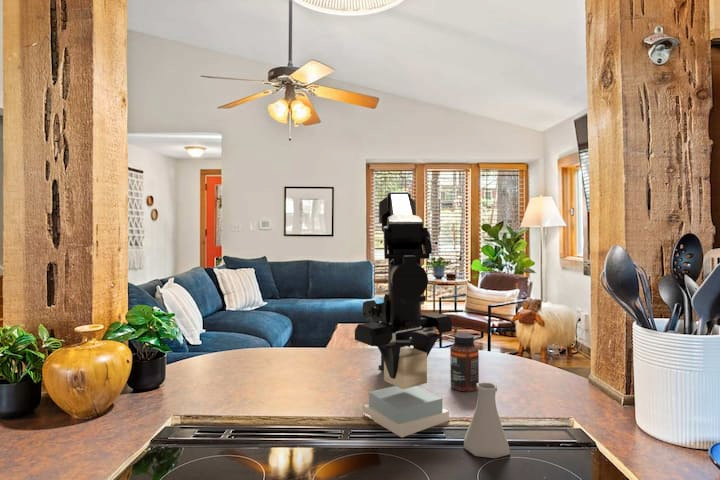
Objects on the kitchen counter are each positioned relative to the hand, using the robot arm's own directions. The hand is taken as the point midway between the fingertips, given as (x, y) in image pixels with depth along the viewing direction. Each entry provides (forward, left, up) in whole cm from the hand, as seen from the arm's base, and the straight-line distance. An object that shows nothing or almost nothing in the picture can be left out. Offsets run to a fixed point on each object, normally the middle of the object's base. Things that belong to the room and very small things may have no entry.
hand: (405, 374), depth 83 cm
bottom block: (0, 0, -9) cm, 9 cm away
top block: (0, 0, -6) cm, 6 cm away
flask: (-3, +16, -8) cm, 18 cm away
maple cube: (0, 0, -1) cm, 1 cm away
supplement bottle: (-20, -4, -8) cm, 22 cm away
